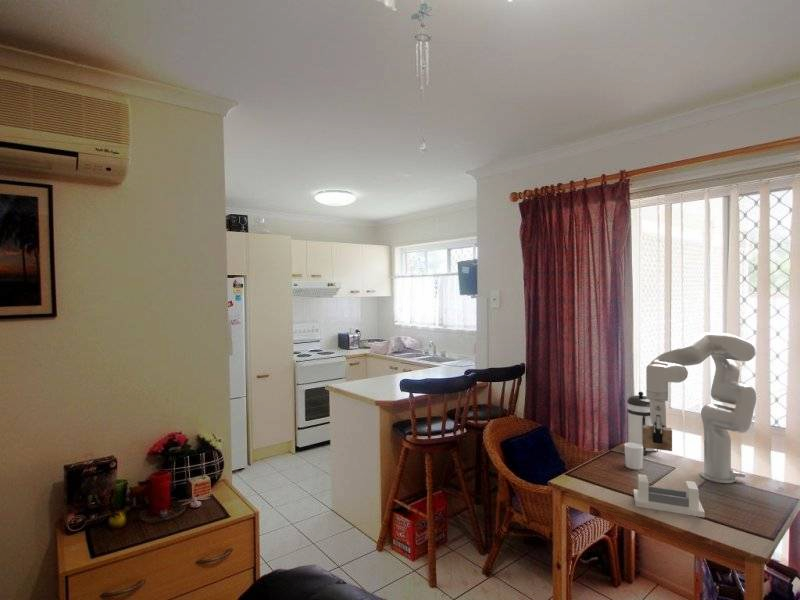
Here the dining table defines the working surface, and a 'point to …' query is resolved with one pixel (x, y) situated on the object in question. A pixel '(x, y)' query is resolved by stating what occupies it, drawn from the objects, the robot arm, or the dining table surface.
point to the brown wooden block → (648, 438)
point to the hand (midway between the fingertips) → (657, 440)
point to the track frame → (669, 498)
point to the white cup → (633, 455)
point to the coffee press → (638, 418)
